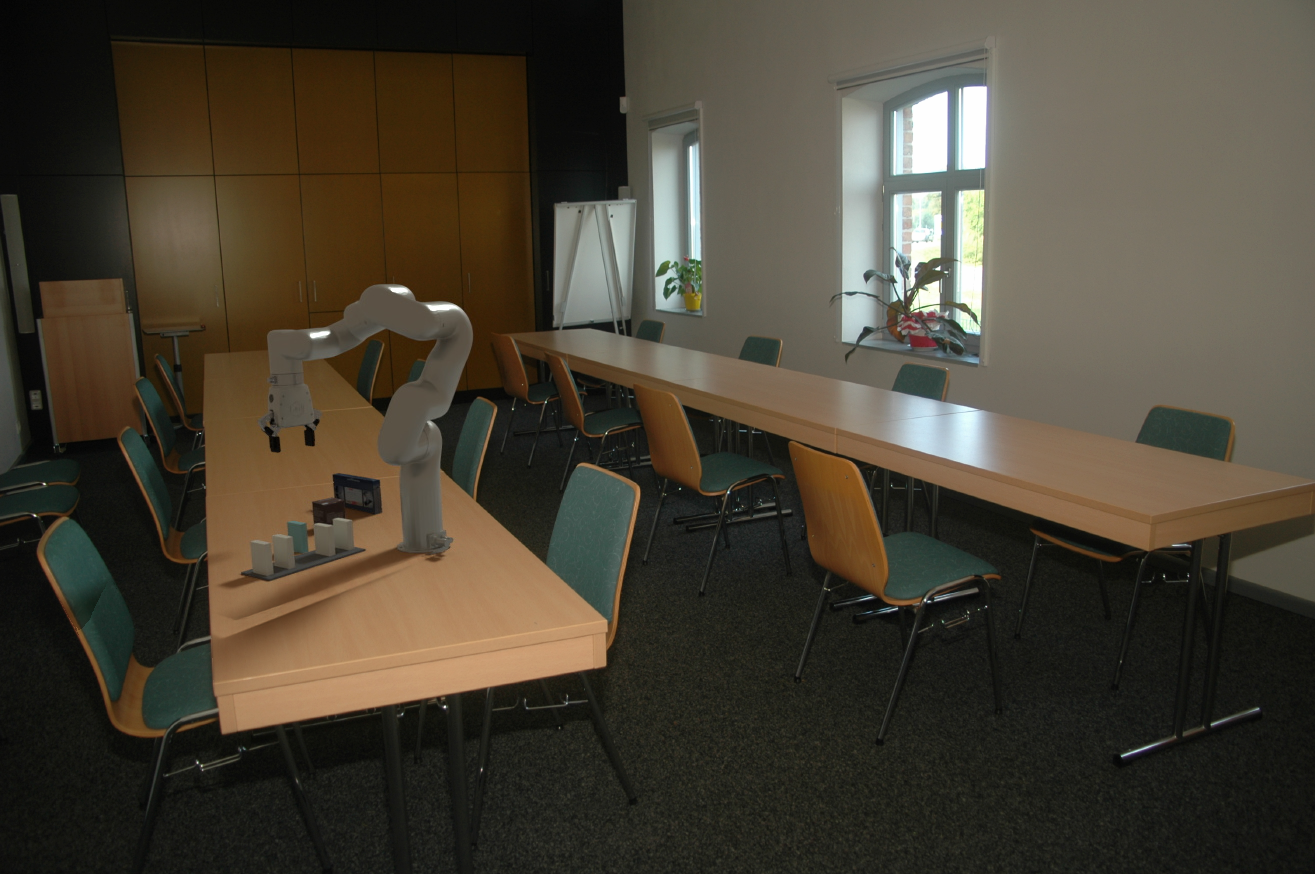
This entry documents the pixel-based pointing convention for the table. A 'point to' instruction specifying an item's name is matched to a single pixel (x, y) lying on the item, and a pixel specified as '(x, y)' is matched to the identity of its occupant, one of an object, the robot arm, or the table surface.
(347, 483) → the vhs cassette tape
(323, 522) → the box
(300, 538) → the teal domino
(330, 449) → the table surface
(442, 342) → the robot arm
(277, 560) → the domino
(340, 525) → the domino
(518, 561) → the table surface
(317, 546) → the domino
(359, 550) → the mat
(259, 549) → the domino
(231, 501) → the table surface
